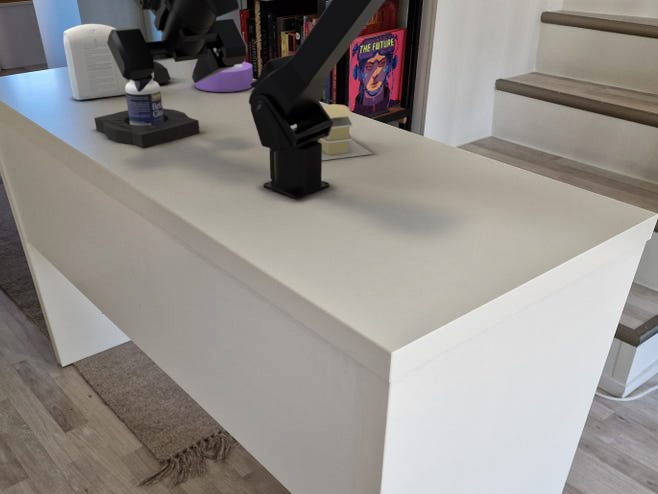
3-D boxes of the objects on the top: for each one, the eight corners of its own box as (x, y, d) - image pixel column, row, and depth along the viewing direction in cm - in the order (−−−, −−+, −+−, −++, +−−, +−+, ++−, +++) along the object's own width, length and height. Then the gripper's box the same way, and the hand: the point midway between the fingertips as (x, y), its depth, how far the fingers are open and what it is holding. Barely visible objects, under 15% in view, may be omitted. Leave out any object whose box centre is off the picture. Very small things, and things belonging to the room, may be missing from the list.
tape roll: (209, 77, 140) (207, 57, 138) (261, 81, 138) (260, 61, 136) (185, 90, 131) (183, 69, 129) (240, 94, 129) (239, 73, 126)
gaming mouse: (139, 70, 145) (137, 50, 142) (177, 83, 136) (174, 62, 134) (113, 75, 141) (110, 54, 139) (149, 88, 132) (147, 66, 130)
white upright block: (123, 90, 131) (112, 20, 123) (131, 95, 128) (120, 23, 120) (70, 97, 126) (56, 24, 119) (77, 102, 123) (63, 28, 116)
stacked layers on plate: (372, 154, 101) (374, 116, 97) (317, 161, 98) (318, 122, 94) (345, 135, 108) (346, 100, 105) (293, 141, 105) (293, 105, 102)
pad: (205, 131, 109) (204, 119, 108) (137, 150, 101) (135, 136, 100) (157, 115, 116) (155, 103, 115) (89, 131, 108) (87, 119, 107)
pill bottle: (161, 137, 106) (153, 72, 101) (127, 136, 106) (117, 71, 101) (168, 127, 111) (160, 64, 105) (136, 126, 111) (126, 63, 105)
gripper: (231, -48, 90) (199, 30, 104) (99, -42, 81) (83, 43, 95) (265, 24, 90) (229, 93, 103) (136, 38, 80) (115, 112, 94)
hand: (166, 84), depth 99 cm, fingers open, 9 cm apart
